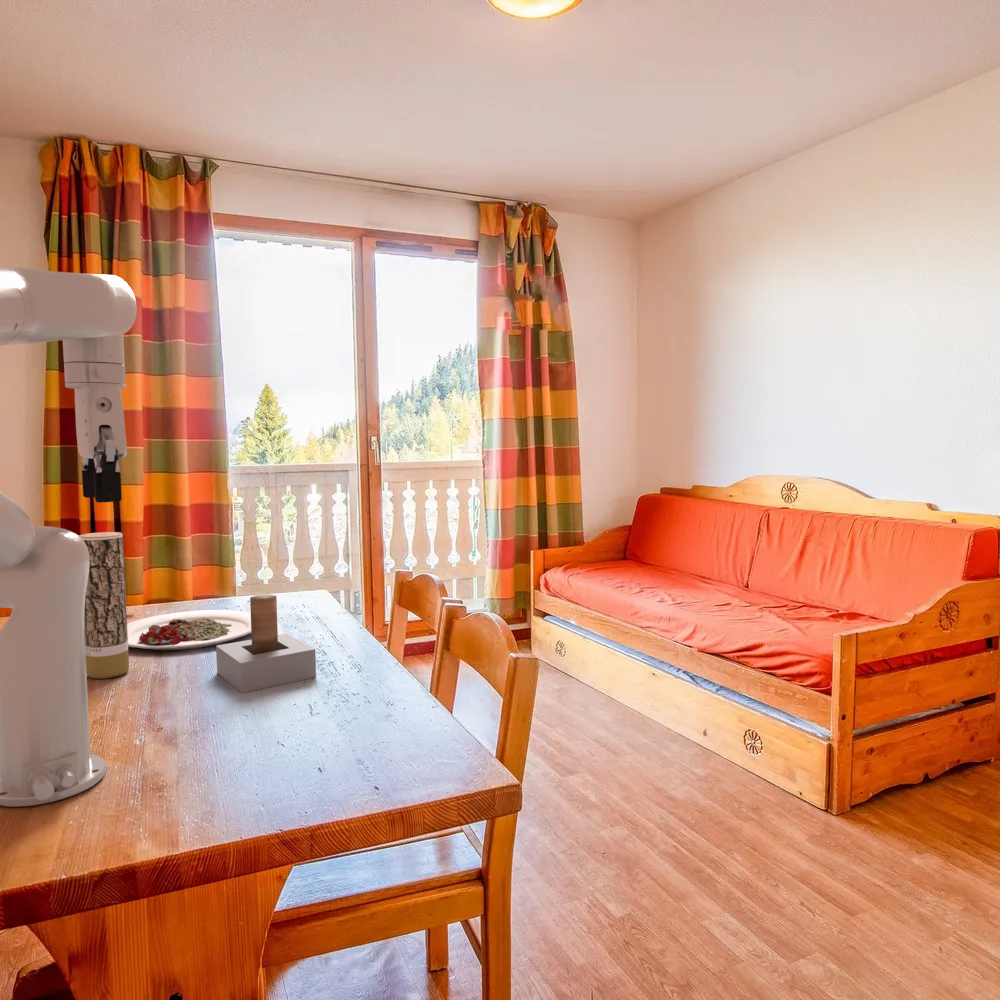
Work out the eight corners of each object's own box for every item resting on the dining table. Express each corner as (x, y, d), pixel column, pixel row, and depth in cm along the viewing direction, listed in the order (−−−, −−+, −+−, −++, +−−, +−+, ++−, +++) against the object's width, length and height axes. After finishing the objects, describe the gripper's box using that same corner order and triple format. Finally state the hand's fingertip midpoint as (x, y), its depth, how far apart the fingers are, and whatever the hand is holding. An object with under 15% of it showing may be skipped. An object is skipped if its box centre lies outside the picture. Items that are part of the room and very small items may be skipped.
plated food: (281, 617, 175) (281, 603, 175) (233, 656, 145) (232, 639, 145) (153, 617, 176) (153, 603, 175) (79, 656, 146) (78, 638, 146)
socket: (316, 677, 132) (315, 649, 131) (241, 692, 124) (240, 663, 123) (287, 659, 142) (286, 633, 142) (217, 673, 134) (216, 645, 134)
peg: (282, 675, 132) (280, 597, 131) (258, 681, 130) (255, 601, 129) (273, 669, 136) (271, 593, 135) (249, 674, 133) (246, 596, 132)
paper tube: (111, 681, 130) (104, 537, 128) (77, 678, 131) (69, 536, 129) (137, 669, 137) (131, 532, 134) (105, 667, 138) (97, 531, 136)
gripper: (138, 375, 101) (144, 502, 103) (112, 382, 115) (118, 494, 116) (75, 372, 96) (82, 505, 98) (56, 380, 110) (62, 496, 112)
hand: (101, 499), depth 107 cm, fingers open, 9 cm apart
